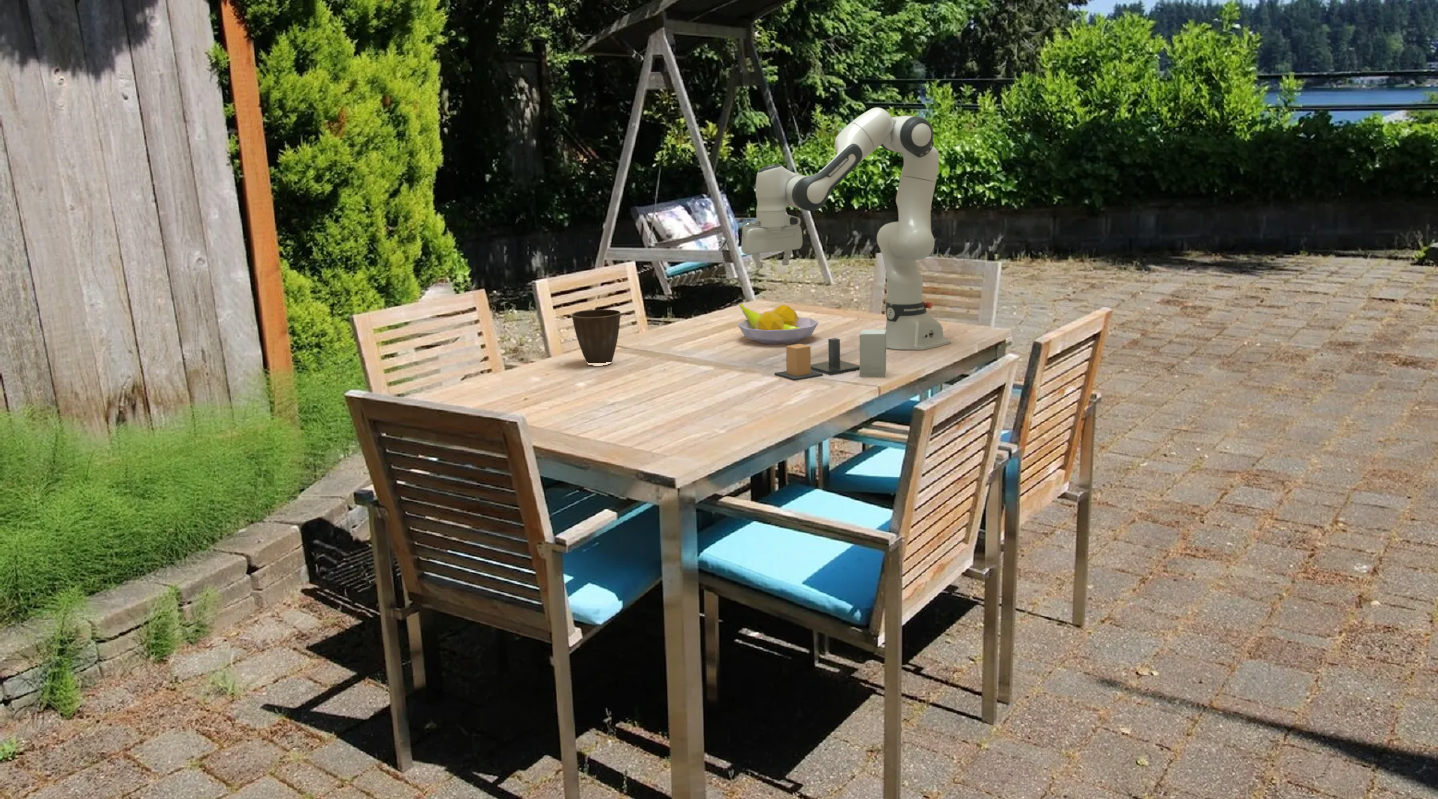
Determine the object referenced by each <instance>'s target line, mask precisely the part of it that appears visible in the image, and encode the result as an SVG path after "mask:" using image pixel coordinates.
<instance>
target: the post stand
mask: <svg viewBox="0 0 1438 799" xmlns="http://www.w3.org/2000/svg"><path fill="white" fill-rule="evenodd" d="M827 340H828V341H827V342H828V343H827V344H828V345H827V346H828V361H824V362H823V361H821V362H817V363H816V362H815V363H811V371H815V372H818V373H822V374H823V375H827V374H828V376H834V374H835V375H839V374H840V375H841V374H846V373H852V372H856V370H858V371H860V364H856V363H852V362H847V361H845V360H841V339H840V338H837V337H832V338H828V339H827Z"/></svg>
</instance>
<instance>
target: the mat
mask: <svg viewBox="0 0 1438 799" xmlns="http://www.w3.org/2000/svg"><path fill="white" fill-rule="evenodd" d="M774 376H777V377H781V378H784V379H786V380H787V379H788V380H791V381H794V382H796V381H800V380H802V381H803V380H807V379H813V378H818V377H823V376H824V373H820V372H816V371H813V370H811V374H805V375H799V376H795V375H792V374H788V373H787V370H782V371H777V372H774Z"/></svg>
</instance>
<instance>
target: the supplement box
mask: <svg viewBox="0 0 1438 799" xmlns="http://www.w3.org/2000/svg"><path fill="white" fill-rule="evenodd" d="M859 365H860V370H859V378H885V376H886V372H887V348H886V330H885V329H861V330H860V333H859Z"/></svg>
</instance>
